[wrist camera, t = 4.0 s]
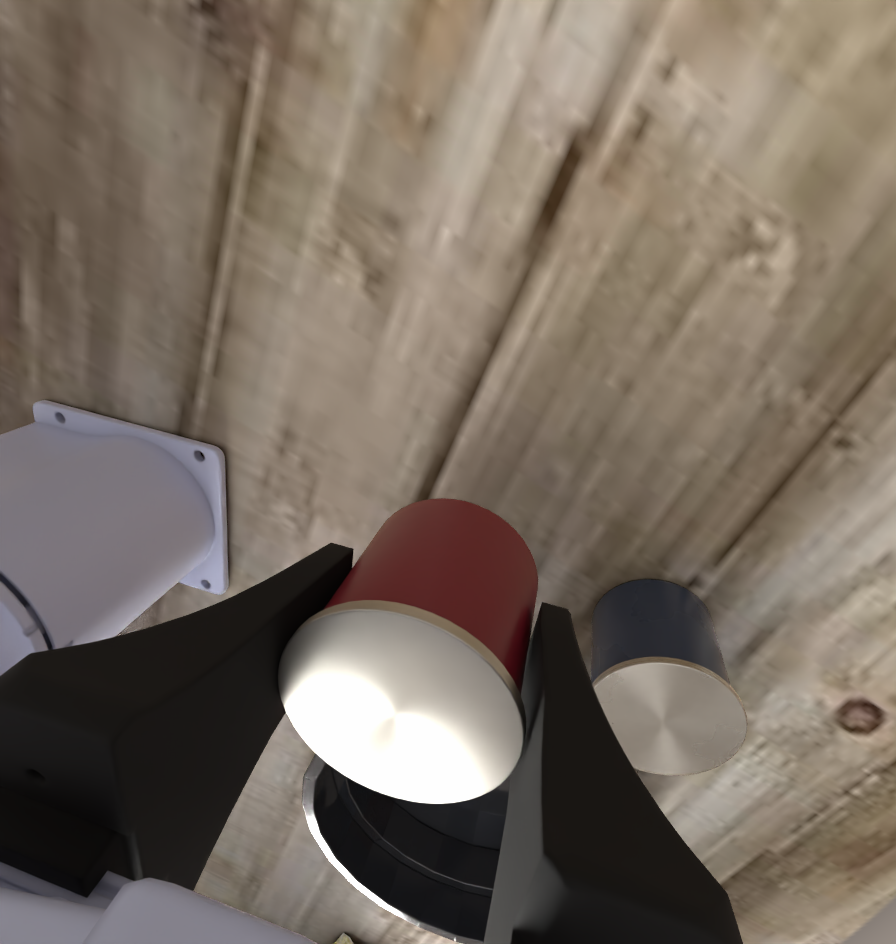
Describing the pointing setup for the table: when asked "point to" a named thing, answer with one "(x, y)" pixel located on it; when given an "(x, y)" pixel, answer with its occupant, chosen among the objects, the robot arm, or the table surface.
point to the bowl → (411, 849)
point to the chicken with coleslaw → (344, 940)
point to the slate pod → (664, 679)
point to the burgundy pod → (420, 657)
